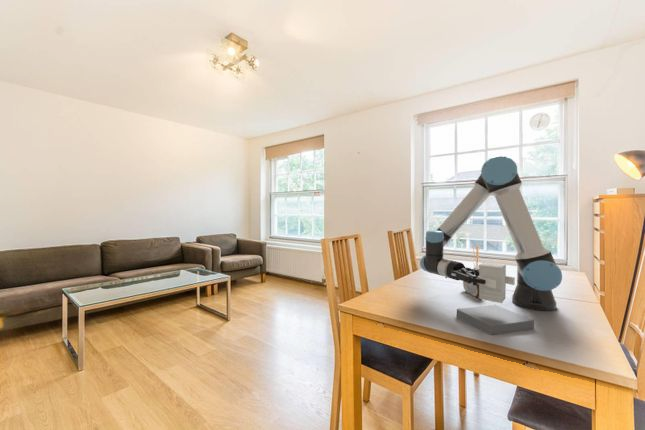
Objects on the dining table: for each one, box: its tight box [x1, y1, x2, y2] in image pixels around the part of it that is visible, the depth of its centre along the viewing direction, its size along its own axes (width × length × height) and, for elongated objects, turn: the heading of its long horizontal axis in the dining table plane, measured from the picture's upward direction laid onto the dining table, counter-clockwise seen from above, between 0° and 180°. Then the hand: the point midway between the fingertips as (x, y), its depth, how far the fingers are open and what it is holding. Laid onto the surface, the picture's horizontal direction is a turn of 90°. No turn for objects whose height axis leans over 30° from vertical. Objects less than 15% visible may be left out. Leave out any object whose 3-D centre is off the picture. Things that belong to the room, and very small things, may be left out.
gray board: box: [456, 304, 535, 336], centre depth 102 cm, size 18×16×3 cm
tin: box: [462, 281, 479, 299], centre depth 134 cm, size 15×3×8 cm, turn 178°
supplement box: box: [478, 261, 507, 304], centre depth 101 cm, size 7×7×13 cm
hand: (504, 282), depth 97 cm, fingers closed on supplement box, 9 cm apart
